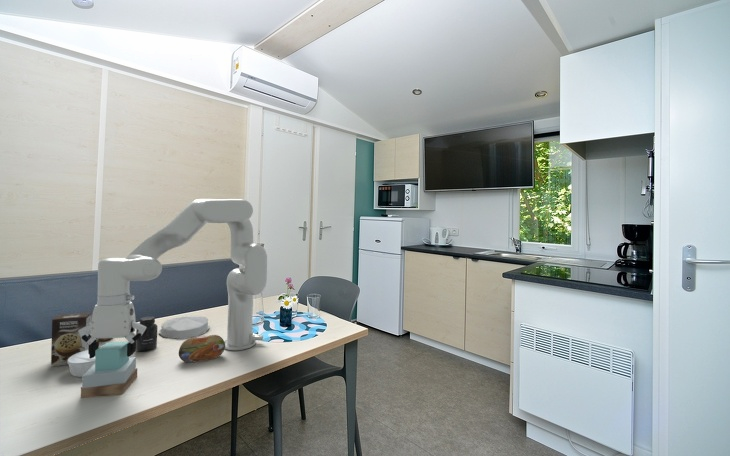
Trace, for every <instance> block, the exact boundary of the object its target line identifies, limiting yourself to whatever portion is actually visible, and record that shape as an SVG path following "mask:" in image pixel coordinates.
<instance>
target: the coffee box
mask: <svg viewBox="0 0 730 456" xmlns="http://www.w3.org/2000/svg"><path fill="white" fill-rule="evenodd" d="M92 315H93V312H77V313H64V314H63V313H60V314H58V315H57V316H55V317H53V318H52V320H51V349H50V350H51V351H50V354H51V356H50V357H51V358H50V367H59V366H66V365H68V366H69V364H68V363H67V361H68V358H69V357H71V356H72V355H74V354H77V353H79V352H82V351H86V350H89V345H87V344H86V342H85V341H84V340H83V339H82V336H81V335H80V334H79V332H78V330H79V329H81V328H83V327H86V326H88V325H90V324H91V320H92ZM87 332H88V334H90V335H91V329H89V330H87Z"/></svg>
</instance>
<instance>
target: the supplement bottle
mask: <svg viewBox="0 0 730 456" xmlns="http://www.w3.org/2000/svg"><path fill="white" fill-rule="evenodd" d="M155 320H156V317H155V316H153V315H152V316H144V317H141V318H140V319H139V324H141V325H144V326H146V330H145V331H144V333H143V335H142V336H141V337H140V338H138V339H137V340H136V351H135V352H139V353H145V352H150V351H151V352H152V351H153V350H155V349H156V348H157V345H158V328H159V327H158V324H156V321H155ZM138 331H139V330H138V329H135V332H136V333H135V335H137V333H138Z"/></svg>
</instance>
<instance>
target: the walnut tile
mask: <svg viewBox="0 0 730 456" xmlns="http://www.w3.org/2000/svg"><path fill="white" fill-rule="evenodd" d="M137 378H138V368H137V367H136V368H135V369H134V371H133V372H132V374H131V375H130V377H129V378H128V379H127V381H126V382H125V383H121V384H113V385H104V386H96V387H88V388H82V386H81V387H80V399H84V398H86V399H88V398H98V397H109V396H112V397H113V396H120V395H121V396H122V395H123V394H124V393H125V392H126V391H127V390H128V389H129V388H130V386H131V385H132V384H133V383H134V381H136V380H137Z"/></svg>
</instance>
